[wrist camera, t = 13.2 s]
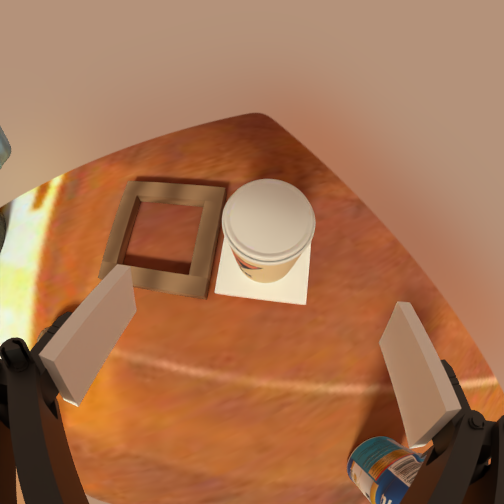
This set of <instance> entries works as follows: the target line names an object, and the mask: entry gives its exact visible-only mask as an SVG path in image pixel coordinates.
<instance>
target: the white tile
mask: <svg viewBox="0 0 504 504" xmlns="http://www.w3.org/2000/svg"><path fill="white" fill-rule="evenodd" d="M310 249H311V242H310V244H309V246H308V247H307V248H306V249H305V251H304V252H303V253H302V254H301V256H300V257H299V258H298V260H297V261H296V263H295V264H294V266H293V267H292V268H291V270H290V271H289V272H288V273H287V274H286V275H285V276H284V277H283V278H282V279H280V280H278V281H275V282H272V283H259V282H255V281H253V280H251V279H249V278H248V277H247V276H245V274H244V273H243V272H242V271H241V269H240V268H239V266H238V264H237V261H236V259H235V257H234V255H233V252H232V250H231V247H230V245H229V244H228V242H227V240H226V238H225V237H224V242H223V248H222V253H221V259H220V264H219V270H218V276H217V282H216V287H215V293H216V294H223V295H230V296H237V297H244V298H251V299H259V300H267V301H275V302H283V303H292V304H300V305H306V297H307V287H308V275H309V262H310Z"/></svg>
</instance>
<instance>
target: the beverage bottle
mask: <svg viewBox="0 0 504 504" xmlns="http://www.w3.org/2000/svg"><path fill="white" fill-rule="evenodd" d="M421 456H422V454H421V453H416V452H414V451H412V450H410V449H408V448H406V447H404V446H402V445H400V444H399V443H397V442H396V441H395V440H393V439H391V438H389V437H385V436H378V437H373V438H370V439H368V440H366V441H364V442H363V443H361V444H360V445H359V446H358V447H357V448H356V449H355V450H354V451H353V452H352V454H351V455H350V457H349V460H348V463H347V473H348V475H349V477H350V479H351V480H352V481H353V482H354V483H355V484H356V485H357V486H358V488H359V489H360V490H361V491H362V492H363V494H364V495H365V496H366V497H367V498H368V500H369V501H370V502H371V504H399V503H400V502H401V500H402V498H403V497H404V495H405V494H406V492H407V490H408V489H409V487H410V485H411V484H412V482H413V480H414V478H415V476H416V475H417V473H418V471H419V469H420V467H421V465H422V463H423V461H424V459H425V457H426V455H425V456H424V457H423V458H420V457H421Z"/></svg>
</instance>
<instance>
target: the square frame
mask: <svg viewBox="0 0 504 504" xmlns="http://www.w3.org/2000/svg"><path fill="white" fill-rule="evenodd" d="M225 199H226V189H225V188H224V187H213V186H202V185H190V184H176V183H160V182H142V181H128V182H127V185H126V188H125V191H124V193H123V196H122V199H121V202H120V205H119V208H118V210H117V213H116V217H115V220H114V223H113V226H112V229H111V232H110V236H109V239H108V242H107V246H106V249H105V253H104V256H103V260H102V264H101V268H100V272H99V276H98V278H100V279H101V280H103V279H104V278H105V277H106V276H107V274H108V273H109V272H110V271H111V270H112V269H113V268H114V267H115V266H116V265H117V264H119V265H123V262H124V258H125V254H126V250H127V246H128V243H129V239H130V236H131V232H132V229H133V225H134V222H135V219H136V216H137V212H138V209H139V206H140V203H141V201H142V202H155V203H167V204H178V205H189V206H199V207H203V212H202V216H201V220H200V225H199V229H198V234H197V238H196V243H195V248H194V253H193V257H192V262H191V267H190V272H189V275H185V274H178V273H172V272H165V271H159V270H153V269H146V268H140V267H134V266H130V268H131V276H132V284H133V287H137V288H142V289H147V290H153V291H158V292H164V293H169V294H175V295H181V296H187V297H193V298H200V299H206V300H207V295H208V289H209V283H210V278H211V272H212V267H213V261H214V256H215V250H216V245H217V240H218V235H219V229H220V224H221V219H222V214H223V209H224V204H225ZM125 266H128V265H125Z"/></svg>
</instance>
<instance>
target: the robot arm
mask: <svg viewBox="0 0 504 504" xmlns="http://www.w3.org/2000/svg"><path fill="white" fill-rule="evenodd" d="M10 154H11V146H10V144H9V141H8V139H7V138H6V136H5V134H4V132H3V130H2V128H1V127H0V169H1V167H2V165H3V164H4V162H6V160H7V159H8V158H9V156H10ZM4 236H5V218H4V215H3V214H2V212H0V251H1V248H2V245H3V241H4ZM135 313H136V304H135V298H134V291H133V284H132V276H131V268H130V266H125V265H119V264H117V265H116V266H115V267H114V268H113V269H112V270H111V271H110V272H109V273H108V274H107V276H106V277H105V278H104V279H103V280H102V281H101V282H100V283H99V284H98V285H97V286H96V287H95V289H94V290H93V291H92V292H91V293H90V294H89V295H88V296H87V297H86V299H85V300H84V301H83V302H82V303H81V304H80V305H79V306H78V308H77V309H76V310H75V311H74V312H73V313H71V312H66V313H65V314H63V315H61V316H60V317H58V318H57V320H56V321H55V322H54V323H53V324H52V326H51V327H50V328H49V329H48V330H47V332H45V334H44V335H43V336H42V337H41V338H40V340H39V341H38V342H37V343H36V344H35V346H34V347H33V348H32V349H31V351H29V349H28V347H27V345H26V343H25V341H24V340H23V339H21V338H11V339H8V340H6V341H5V342H4V343H3V344H2V345H1V346H0V356H1V358H2V359H0V504H17V497H16V469H17V473H18V478H19V482H20V486H21V490H22V493H23V497H24V501H25V504H89V502H88V500H87V498H86V495H85V493H84V490H83V487H82V485H81V482H80V479H79V477H78V474H77V471H76V468H75V465H74V462H73V459H72V456H71V452H70V449H69V446H68V442H67V439H66V435H65V431H64V427H63V423H62V419H61V414H60V409H59V405H58V401H57V399H56V396H57V395H58V393H60V394H61V396H62V398H63V399H64V400H65V401H67V402H69V403H71V404H74V405H76V406H78V407H79V405H80V403H81V401H82V400H83V398H84V396H85V394H86V393H87V391H88V389H89V387H90V386H91V384H92V382H93V380H94V379H95V377H96V375H97V374H98V372H99V370H100V369H101V367H102V365H103V364H104V362H105V360H106V359H107V357H108V355H109V354H110V352H111V350H112V349H113V347H114V346H115V344H116V342H117V341H118V339H119V338H120V336H121V334H122V333H123V331H124V330H125V328H126V326H127V325H128V323H129V322H130V320H131V319H132V317H133V316H134V314H135ZM379 344H380V347H381V350H382V353H383V356H384V359H385V362H386V366H387V369H388V372H389V375H390V378H391V382H392V385H393V388H394V392H395V395H396V399H397V402H398V406H399V409H400V413H401V417H402V421H403V424H404V428H405V432H406V436H407V441H408V445H409V449H411V448H416V447H422V446H425V445H426V444H427V443H428V442H429V441H430V440H431V439H432V441H433V444H434V445H433V446H431V447H430V448H429V449H428V450H427V451H426V452H425V453H423V454H422V456H421V457H420V458H423V457H424V456H425V455H426V457H425V459H424V461H423V463H422V465H421V467H420V469H419V471H418V473H417V475H416V476H415V478H414V480H413V482H412V484H411V485H410V487H409V489H408V490H407V492H406V494H405V495H404V497H403V498H402V500H401V502H400V503H399V504H504V415H503V416H502V417H501V418H500V419H499V420H498V421H497V422H493V421H486V420H485V418H484V417H483V415H482V414H481V413H479V412H478V411H475V410H471V409H470V406H469V404H468V402H467V399H466V397H465V395H464V392H463V390H462V388H461V386H460V385H459V381H458V379H457V378H456V375H455V373H454V371H453V369H452V367H451V366H450V365H449V364H448V363H447V362H446V361H445V360H440V359H439V357H438V354H437V352H436V350H435V348H434V346H433V344H432V342H431V341H430V339H429V337H428V335H427V333H426V331H425V329H424V327H423V325H422V323H421V322H420V320H419V318H418V316H417V314H416V312H415V311H414V309H413V307H412V305H411V304H410V302H398V301H397V303H396V306H395V308H394V311H393V313H392V315H391V317H390V320H389V322H388V324H387V326H386V329H385V331H384V333H383V335H382V337H381V339H380V341H379ZM490 458H491V464H490V465H488V460H489V459H490Z"/></svg>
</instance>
